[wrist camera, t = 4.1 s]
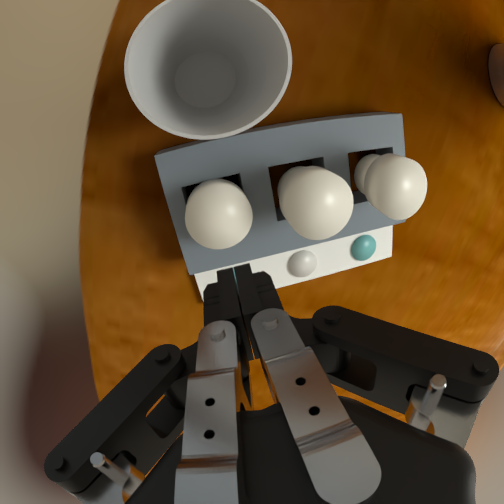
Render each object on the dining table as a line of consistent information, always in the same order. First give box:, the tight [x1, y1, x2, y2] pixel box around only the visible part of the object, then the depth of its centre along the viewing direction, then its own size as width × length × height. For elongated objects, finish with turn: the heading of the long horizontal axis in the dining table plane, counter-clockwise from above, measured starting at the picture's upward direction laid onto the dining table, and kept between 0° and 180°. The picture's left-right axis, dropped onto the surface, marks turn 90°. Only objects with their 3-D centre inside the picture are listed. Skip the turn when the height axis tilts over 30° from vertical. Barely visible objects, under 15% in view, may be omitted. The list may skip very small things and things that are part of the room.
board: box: [154, 112, 406, 275], centre depth 25 cm, size 20×10×3 cm, turn 101°
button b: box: [277, 166, 353, 240], centre depth 21 cm, size 5×5×5 cm
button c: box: [185, 178, 253, 249], centre depth 23 cm, size 5×5×5 cm
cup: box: [124, 0, 292, 140], centre depth 17 cm, size 8×8×10 cm
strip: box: [194, 225, 392, 301], centre depth 29 cm, size 20×4×1 cm, turn 101°
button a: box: [354, 153, 427, 220], centre depth 22 cm, size 5×5×5 cm
